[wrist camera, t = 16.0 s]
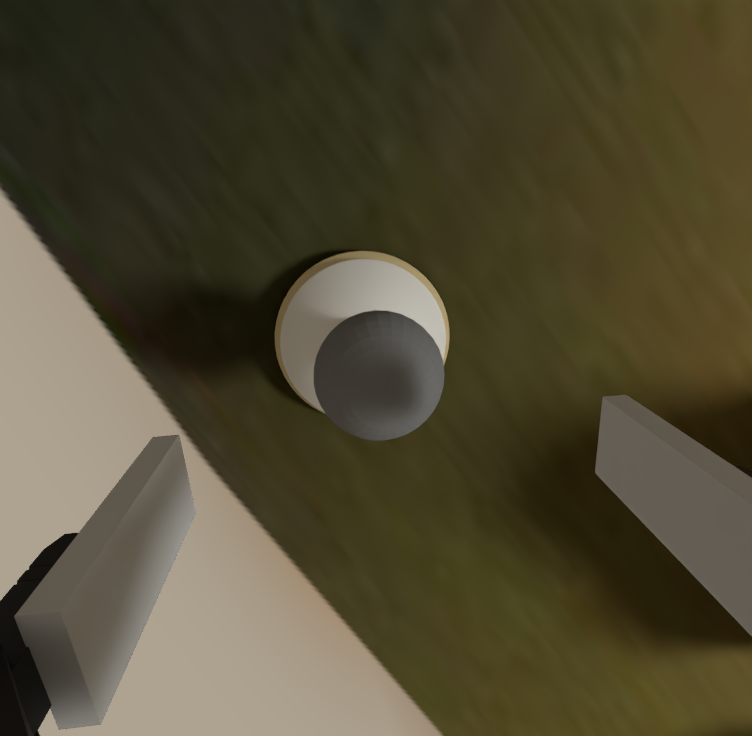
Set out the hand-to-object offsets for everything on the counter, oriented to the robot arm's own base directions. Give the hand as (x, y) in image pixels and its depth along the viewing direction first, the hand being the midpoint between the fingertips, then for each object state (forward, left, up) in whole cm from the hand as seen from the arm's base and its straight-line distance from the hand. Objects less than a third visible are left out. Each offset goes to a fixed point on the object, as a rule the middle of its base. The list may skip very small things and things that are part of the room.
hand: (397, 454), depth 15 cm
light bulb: (0, 0, -15) cm, 15 cm away
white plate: (0, 0, -17) cm, 17 cm away
